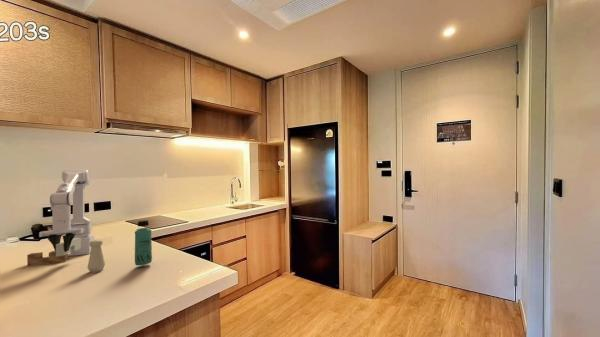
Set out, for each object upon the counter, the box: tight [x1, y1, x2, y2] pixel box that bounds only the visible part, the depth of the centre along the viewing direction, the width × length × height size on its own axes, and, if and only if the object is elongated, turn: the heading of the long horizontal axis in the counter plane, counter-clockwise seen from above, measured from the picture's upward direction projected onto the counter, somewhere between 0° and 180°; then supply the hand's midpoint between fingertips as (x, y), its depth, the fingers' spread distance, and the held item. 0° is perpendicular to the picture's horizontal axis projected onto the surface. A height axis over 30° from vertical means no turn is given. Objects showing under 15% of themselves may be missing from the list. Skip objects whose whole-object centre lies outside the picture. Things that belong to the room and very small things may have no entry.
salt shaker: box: [87, 238, 106, 274], centre depth 107 cm, size 6×6×13 cm
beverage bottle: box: [134, 219, 153, 266], centre depth 111 cm, size 6×7×20 cm
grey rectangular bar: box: [56, 238, 81, 256], centre depth 115 cm, size 15×2×5 cm, turn 18°
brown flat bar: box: [26, 250, 69, 267], centre depth 120 cm, size 14×2×5 cm, turn 108°
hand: (62, 251), depth 110 cm, fingers closed on grey rectangular bar, 2 cm apart
